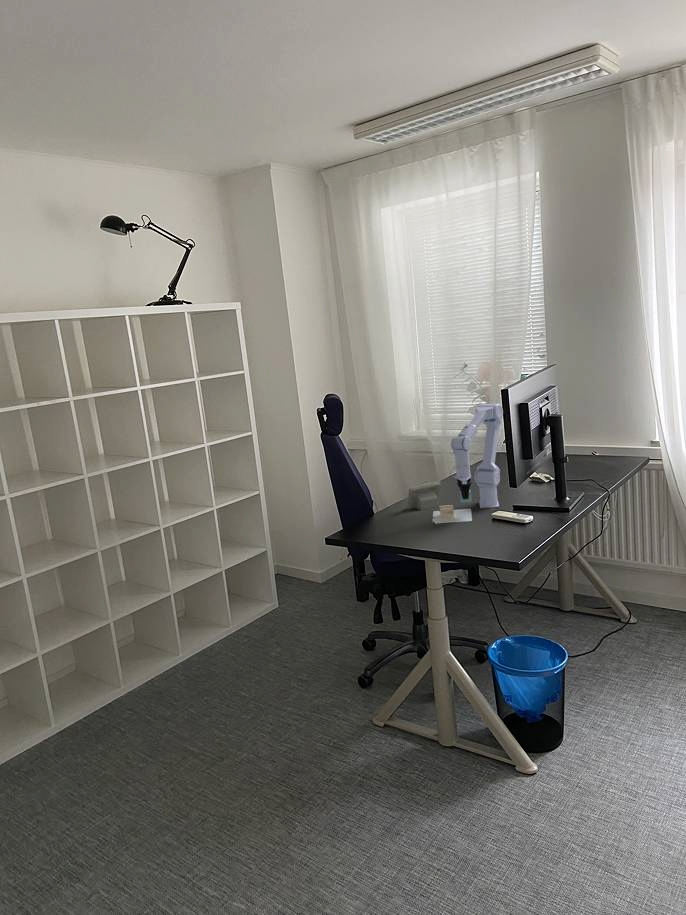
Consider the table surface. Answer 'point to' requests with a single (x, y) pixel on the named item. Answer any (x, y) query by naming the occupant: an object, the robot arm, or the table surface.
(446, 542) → the table surface
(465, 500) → the teal block
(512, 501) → the table surface
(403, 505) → the table surface
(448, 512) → the base block
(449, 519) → the board
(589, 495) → the table surface
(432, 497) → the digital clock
